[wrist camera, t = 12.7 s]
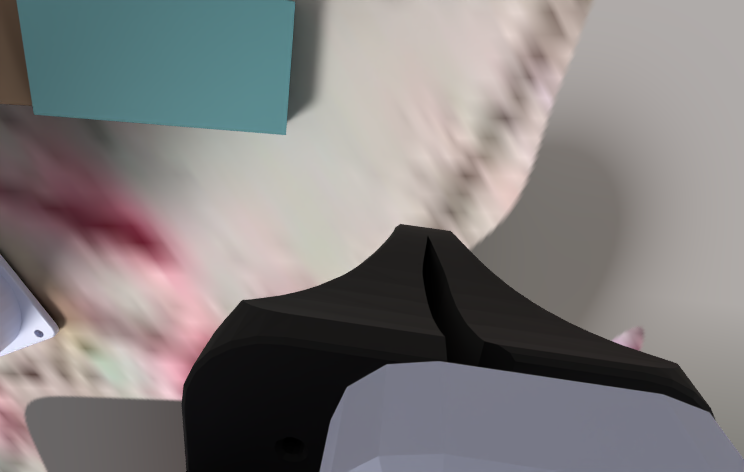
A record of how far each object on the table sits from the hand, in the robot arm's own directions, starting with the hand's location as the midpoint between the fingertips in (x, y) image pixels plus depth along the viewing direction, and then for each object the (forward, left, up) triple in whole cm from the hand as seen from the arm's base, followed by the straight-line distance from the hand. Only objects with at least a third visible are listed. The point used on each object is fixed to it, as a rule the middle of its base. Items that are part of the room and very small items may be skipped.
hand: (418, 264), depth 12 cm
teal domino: (-4, +5, -10) cm, 12 cm away
